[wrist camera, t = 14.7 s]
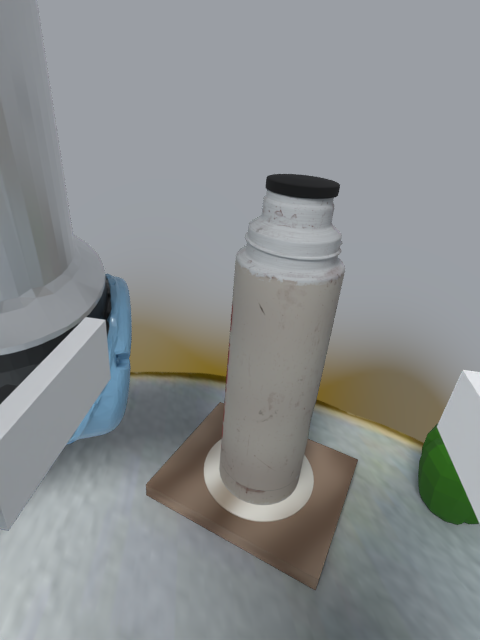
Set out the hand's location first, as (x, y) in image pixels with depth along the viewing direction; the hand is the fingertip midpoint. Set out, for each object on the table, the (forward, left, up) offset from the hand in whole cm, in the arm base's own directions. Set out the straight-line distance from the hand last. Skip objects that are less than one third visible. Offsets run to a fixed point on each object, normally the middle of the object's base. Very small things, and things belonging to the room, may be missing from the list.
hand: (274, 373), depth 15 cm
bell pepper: (+13, +23, -25) cm, 36 cm away
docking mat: (-5, +15, -25) cm, 29 cm away
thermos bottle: (-5, +15, -23) cm, 28 cm away
